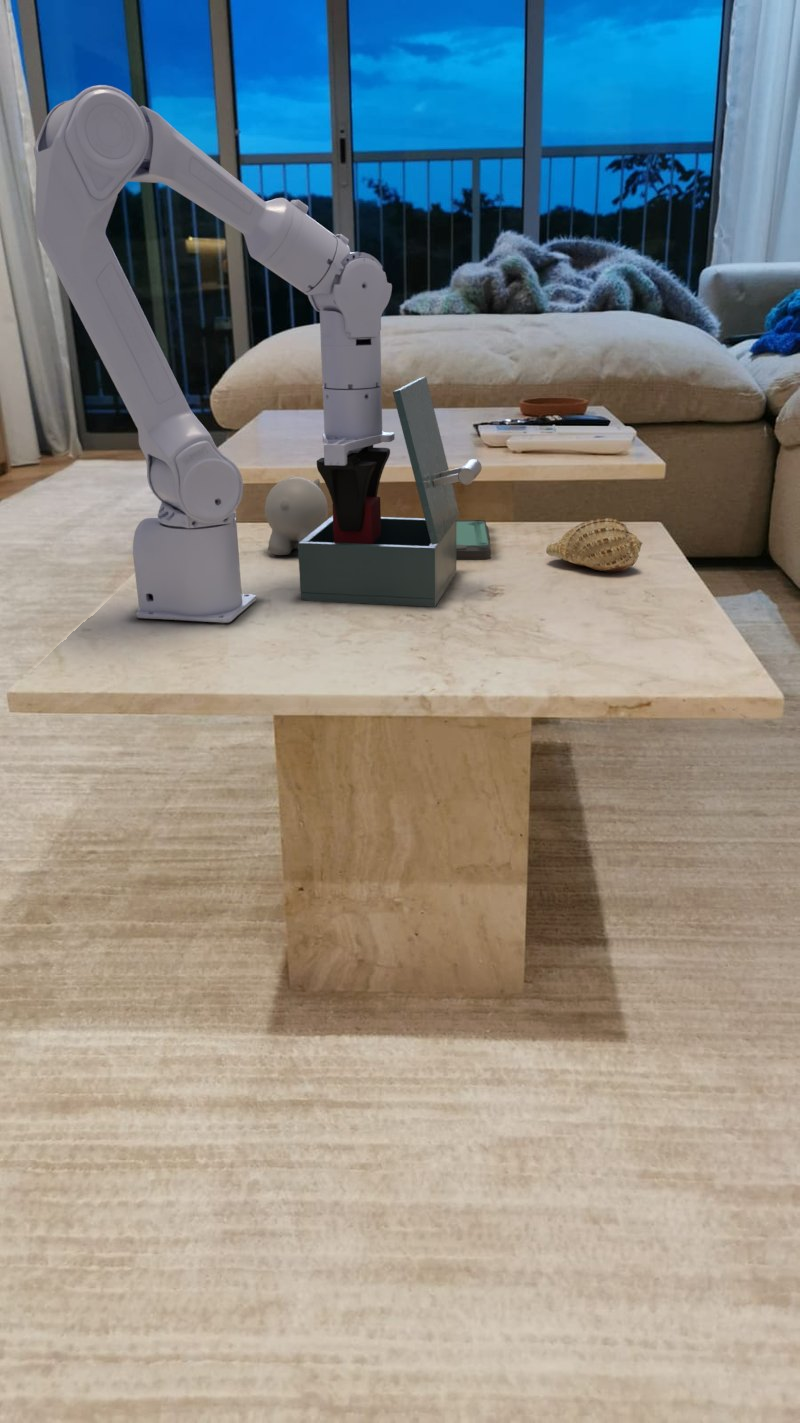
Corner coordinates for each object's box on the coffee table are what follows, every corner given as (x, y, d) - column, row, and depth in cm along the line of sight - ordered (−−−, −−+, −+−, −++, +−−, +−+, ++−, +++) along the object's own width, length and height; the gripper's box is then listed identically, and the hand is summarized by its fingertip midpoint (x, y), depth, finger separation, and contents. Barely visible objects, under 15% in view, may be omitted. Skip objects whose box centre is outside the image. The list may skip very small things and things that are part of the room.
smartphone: (426, 549, 120) (427, 518, 134) (427, 560, 121) (427, 528, 134) (492, 548, 120) (487, 518, 134) (492, 559, 120) (486, 528, 134)
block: (333, 543, 108) (332, 503, 107) (344, 533, 112) (342, 495, 110) (372, 544, 107) (371, 504, 106) (381, 535, 111) (380, 496, 109)
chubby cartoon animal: (343, 535, 132) (340, 465, 129) (322, 560, 121) (318, 484, 118) (286, 534, 133) (282, 464, 130) (260, 558, 122) (255, 483, 119)
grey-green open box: (300, 600, 107) (297, 543, 104) (334, 567, 118) (332, 515, 116) (435, 607, 104) (435, 548, 102) (456, 572, 115) (456, 519, 113)
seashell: (560, 601, 115) (649, 565, 111) (537, 550, 113) (628, 512, 110) (564, 581, 122) (648, 546, 118) (543, 533, 120) (628, 497, 117)
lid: (392, 391, 97) (443, 378, 96) (419, 378, 108) (465, 365, 107) (431, 545, 102) (480, 534, 100) (453, 516, 113) (497, 506, 112)
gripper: (374, 395, 96) (378, 544, 102) (407, 379, 109) (409, 511, 115) (299, 395, 98) (307, 541, 103) (341, 378, 111) (345, 509, 116)
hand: (356, 525), depth 109 cm, fingers closed on block, 4 cm apart
